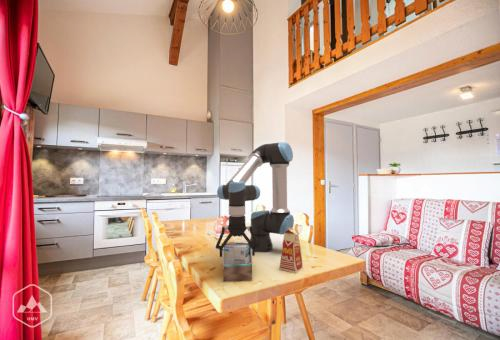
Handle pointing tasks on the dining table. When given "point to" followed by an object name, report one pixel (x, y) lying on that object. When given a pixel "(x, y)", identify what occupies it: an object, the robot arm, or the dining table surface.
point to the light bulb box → (236, 253)
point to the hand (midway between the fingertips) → (237, 263)
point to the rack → (238, 272)
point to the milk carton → (291, 252)
